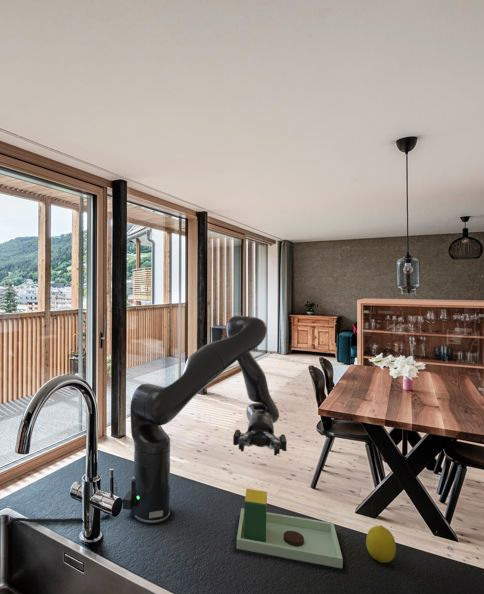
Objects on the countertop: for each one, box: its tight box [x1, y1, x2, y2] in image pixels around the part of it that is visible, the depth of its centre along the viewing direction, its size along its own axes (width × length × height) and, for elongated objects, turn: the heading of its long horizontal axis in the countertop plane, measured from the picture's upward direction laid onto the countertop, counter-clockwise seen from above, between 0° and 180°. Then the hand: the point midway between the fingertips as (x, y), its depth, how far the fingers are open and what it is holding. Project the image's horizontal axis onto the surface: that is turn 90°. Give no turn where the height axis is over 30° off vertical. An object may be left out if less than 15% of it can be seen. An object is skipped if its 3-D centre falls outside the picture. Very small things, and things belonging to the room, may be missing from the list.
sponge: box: [244, 488, 268, 543], centre depth 96 cm, size 5×7×9 cm
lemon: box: [365, 525, 397, 564], centre depth 88 cm, size 6×6×8 cm
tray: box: [236, 507, 344, 569], centre depth 95 cm, size 22×14×3 cm, turn 73°
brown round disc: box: [284, 531, 304, 546], centre depth 94 cm, size 4×4×1 cm
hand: (258, 449), depth 108 cm, fingers open, 8 cm apart
